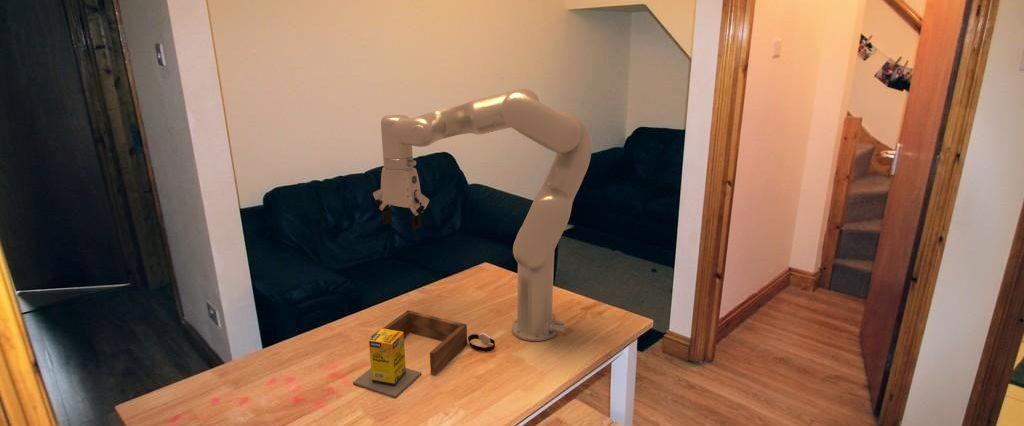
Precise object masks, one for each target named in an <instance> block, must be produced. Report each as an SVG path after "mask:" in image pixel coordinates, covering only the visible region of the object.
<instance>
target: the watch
mask: <svg viewBox="0 0 1024 426" xmlns="http://www.w3.org/2000/svg"><path fill="white" fill-rule="evenodd" d="M472 340H480V342H481V343H483V344H485V343H486V345H488V344H490V343H491V344H492V345H491V346H480V345H476V344H473V343H472V342H471V341H472ZM467 343H468V346H469V347H470V348H471V349H473V350H475V351H478V352H482V351H484V352H483V353H488V352H492V351H494V350H495V348H496V341H495V340H494V338H493V339H492V338H491V337H490V335H488V334H487V333H485V332H482V333H480V334H476V333H472V334H471V335H469V336H467Z"/></svg>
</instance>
